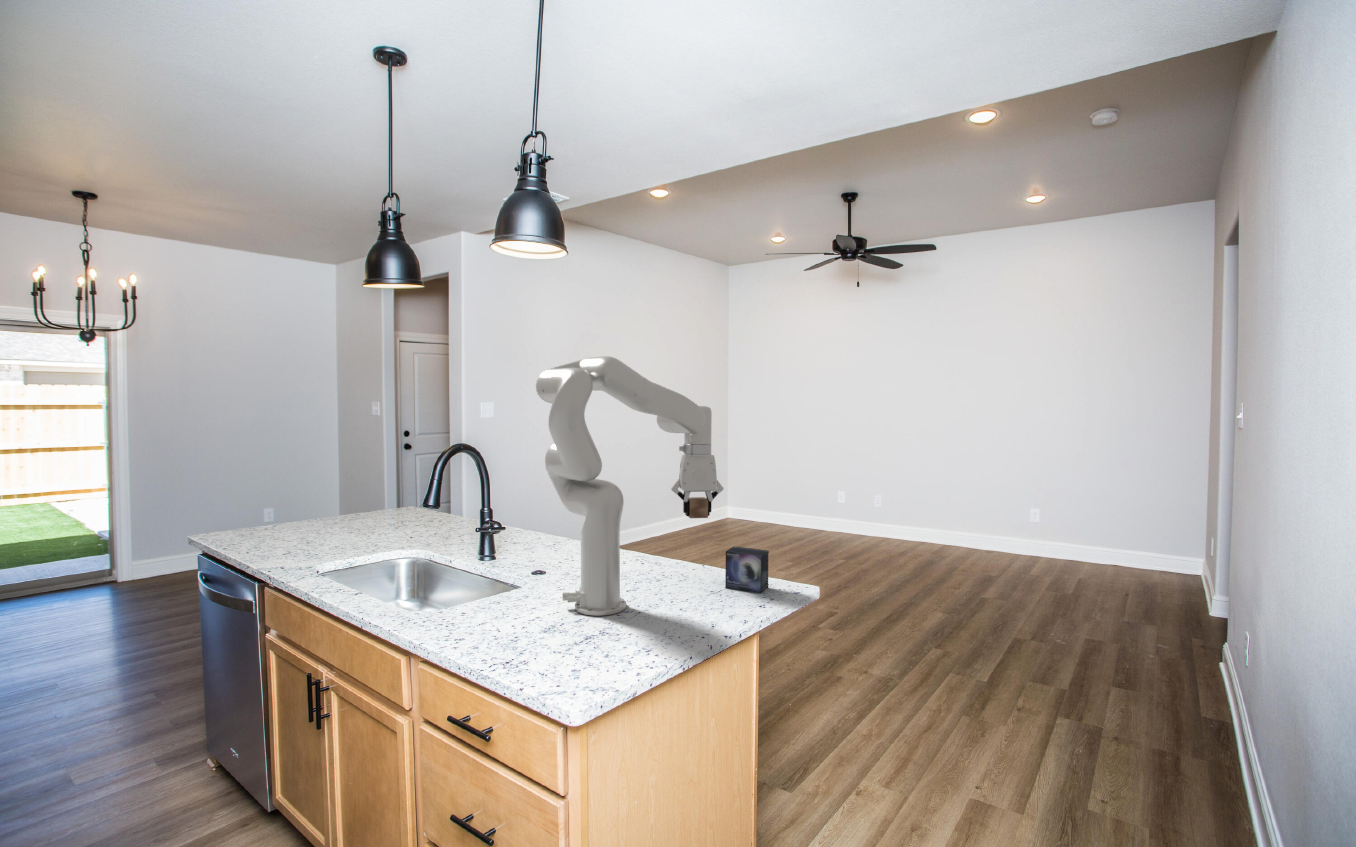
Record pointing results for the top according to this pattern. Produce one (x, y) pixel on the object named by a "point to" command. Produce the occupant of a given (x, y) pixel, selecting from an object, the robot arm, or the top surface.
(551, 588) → the top surface
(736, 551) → the small box
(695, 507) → the walnut cube
